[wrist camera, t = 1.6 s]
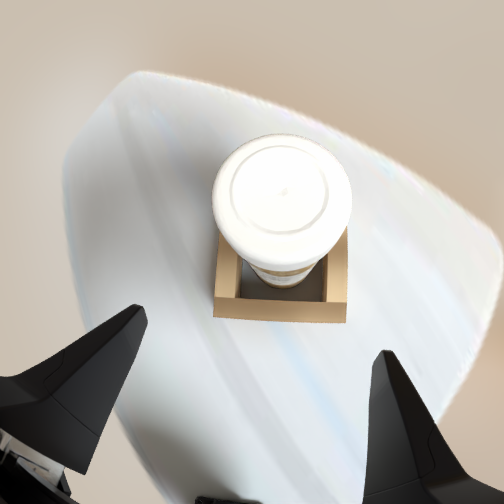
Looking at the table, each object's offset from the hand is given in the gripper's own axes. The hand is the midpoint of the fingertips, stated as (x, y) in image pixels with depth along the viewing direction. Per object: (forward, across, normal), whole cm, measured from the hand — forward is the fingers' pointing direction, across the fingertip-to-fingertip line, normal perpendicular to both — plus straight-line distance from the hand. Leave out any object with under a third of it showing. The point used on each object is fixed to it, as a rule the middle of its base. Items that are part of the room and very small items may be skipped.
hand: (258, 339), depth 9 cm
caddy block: (+11, 0, +5) cm, 12 cm away
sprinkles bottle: (+12, 0, +5) cm, 13 cm away
